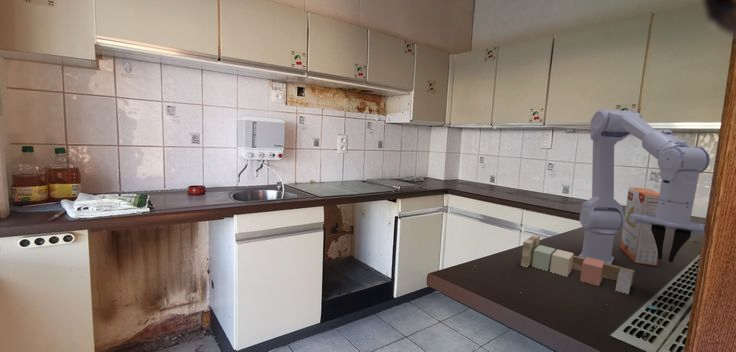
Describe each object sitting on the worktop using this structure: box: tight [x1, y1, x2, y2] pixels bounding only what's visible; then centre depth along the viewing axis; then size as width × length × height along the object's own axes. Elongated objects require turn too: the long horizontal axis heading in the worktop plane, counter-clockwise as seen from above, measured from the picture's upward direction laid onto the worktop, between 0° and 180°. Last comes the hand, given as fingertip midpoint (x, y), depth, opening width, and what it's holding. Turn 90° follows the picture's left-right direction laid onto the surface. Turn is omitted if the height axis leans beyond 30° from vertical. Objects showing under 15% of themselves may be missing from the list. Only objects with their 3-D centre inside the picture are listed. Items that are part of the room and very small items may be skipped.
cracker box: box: [619, 187, 662, 267], centre depth 102 cm, size 14×6×21 cm, turn 157°
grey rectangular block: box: [614, 269, 633, 295], centre depth 81 cm, size 6×2×4 cm, turn 138°
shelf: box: [520, 234, 635, 286], centre depth 88 cm, size 10×24×7 cm, turn 48°
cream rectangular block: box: [549, 248, 575, 278], centre depth 90 cm, size 6×4×5 cm, turn 139°
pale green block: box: [531, 244, 556, 272], centre depth 93 cm, size 6×4×5 cm, turn 139°
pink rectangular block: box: [579, 257, 605, 287], centre depth 85 cm, size 6×4×5 cm, turn 138°
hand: (665, 259), depth 76 cm, fingers closed
